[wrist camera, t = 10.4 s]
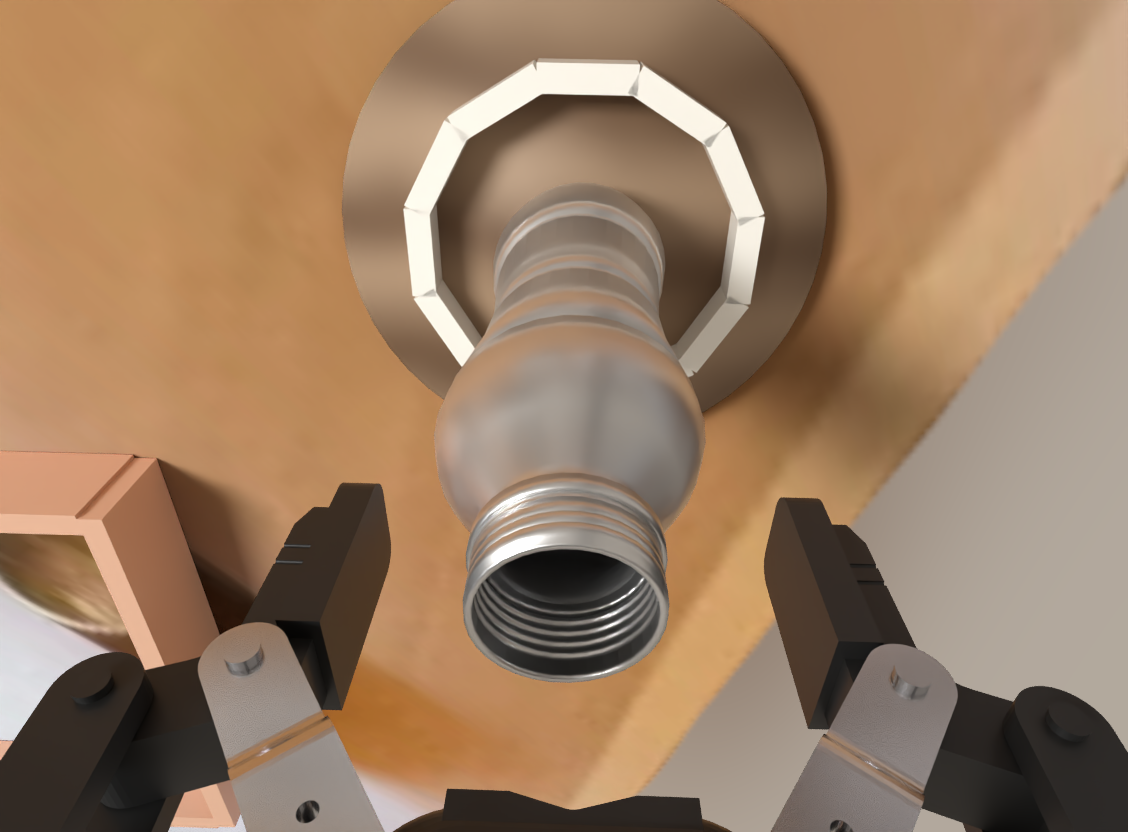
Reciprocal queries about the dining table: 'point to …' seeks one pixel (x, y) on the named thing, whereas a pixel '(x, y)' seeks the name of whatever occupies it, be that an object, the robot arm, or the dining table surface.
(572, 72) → the ring
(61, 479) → the peach open square frame
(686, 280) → the round tan coaster
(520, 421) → the plastic bottle
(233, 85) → the dining table surface
